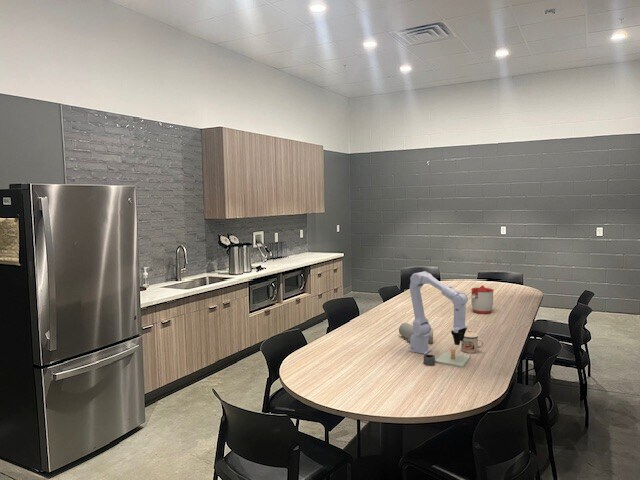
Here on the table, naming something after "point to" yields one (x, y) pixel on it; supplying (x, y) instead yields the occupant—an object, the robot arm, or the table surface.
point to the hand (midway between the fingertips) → (458, 342)
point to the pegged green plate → (452, 359)
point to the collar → (429, 360)
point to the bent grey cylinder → (407, 331)
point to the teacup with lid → (470, 342)
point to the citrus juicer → (482, 300)
